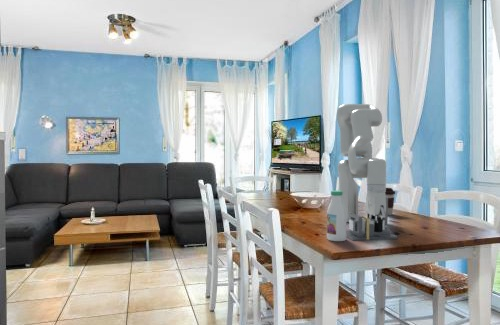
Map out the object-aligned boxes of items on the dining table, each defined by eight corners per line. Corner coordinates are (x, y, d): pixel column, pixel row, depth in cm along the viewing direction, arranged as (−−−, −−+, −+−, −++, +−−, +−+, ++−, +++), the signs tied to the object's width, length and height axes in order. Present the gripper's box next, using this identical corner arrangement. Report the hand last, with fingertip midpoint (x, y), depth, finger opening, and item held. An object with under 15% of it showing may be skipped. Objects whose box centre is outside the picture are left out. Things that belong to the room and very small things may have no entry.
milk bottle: (343, 237, 155) (343, 189, 154) (348, 241, 147) (348, 191, 147) (324, 237, 155) (325, 189, 154) (329, 241, 147) (329, 192, 146)
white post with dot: (349, 228, 157) (349, 219, 157) (379, 227, 159) (380, 218, 159) (352, 230, 153) (353, 220, 153) (384, 229, 155) (384, 219, 155)
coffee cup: (372, 213, 212) (372, 187, 211) (385, 212, 216) (385, 186, 216) (385, 216, 203) (385, 189, 202) (398, 215, 207) (399, 188, 207)
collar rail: (341, 233, 161) (341, 212, 161) (383, 232, 164) (383, 211, 163) (352, 240, 149) (352, 218, 149) (397, 238, 152) (398, 216, 151)
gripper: (359, 186, 164) (359, 227, 165) (377, 190, 147) (377, 235, 148) (375, 186, 165) (374, 226, 166) (395, 190, 148) (394, 235, 149)
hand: (375, 230), depth 157 cm, fingers closed on white post with dot, 4 cm apart
